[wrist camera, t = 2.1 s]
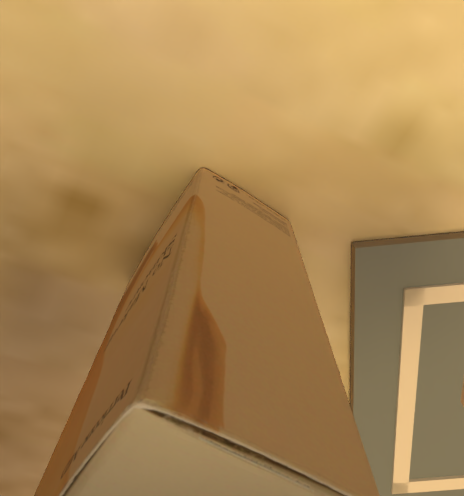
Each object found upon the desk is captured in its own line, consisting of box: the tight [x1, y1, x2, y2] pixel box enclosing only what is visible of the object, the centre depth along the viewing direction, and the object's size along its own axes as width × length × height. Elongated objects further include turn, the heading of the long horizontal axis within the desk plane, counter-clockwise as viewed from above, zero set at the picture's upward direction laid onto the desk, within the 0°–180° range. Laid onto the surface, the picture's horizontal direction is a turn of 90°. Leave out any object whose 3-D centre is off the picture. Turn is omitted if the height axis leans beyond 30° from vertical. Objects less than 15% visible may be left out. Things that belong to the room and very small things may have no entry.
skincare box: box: [34, 168, 380, 496], centre depth 12 cm, size 6×4×12 cm
